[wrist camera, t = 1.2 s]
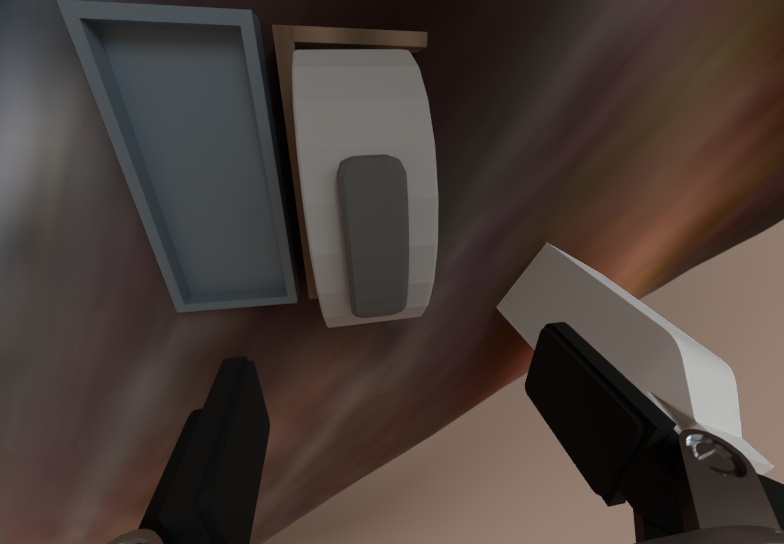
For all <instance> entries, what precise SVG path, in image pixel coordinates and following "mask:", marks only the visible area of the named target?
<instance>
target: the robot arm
mask: <svg viewBox="0 0 784 544" xmlns="http://www.w3.org/2000/svg"><path fill="white" fill-rule="evenodd" d="M525 390H526V393H527V395H528V396H529V398H530V399H531V400H532V402H533V404H534V405H535V406H536V408H537V410H538V411H539V412H540V414H541V415H542V417H543V418H544V420H545V421H546V423H547V424H548V425H549V427H550V429H551V430H552V431H553V433H554V434H555V436H556V437H557V439H558V440H559V442H560V443H561V445H562V446H563V448H564V449H565V451H566V452H567V453H568V455H569V456H570V458H571V459H572V461H573V462H574V464H575V465H576V467H577V468H578V470H579V471H580V472H581V474H582V475H583V477H584V478H585V480H586V481H587V483H588V484H589V486H590V487H591V489H592V490H593V491H594V492H595V493H596V494H598V495H600V496H601V497H602V498H603V500H604V501H605V503H606V504H607V506H613V505H618V504H623V503H625V502H626V500H627V501H628V503H629V504H630V505H631V507H632V508H633V512H634V525H635V536H636V543H635V544H784V484H781V483H779V482H777V481H774V480H772V479H770V478H767V477H765V476H763V475H760V474H758V473H756V471H755V469H754V467H753V466H752V464H751V462H750V461H749V460H748V459H747V458H746V457H745V456H744V455H743V453H742V452H740V451H739V450H738V449H737V448H735V447H734V446H733V445H732V444H730V443H728V442H727V441H725V440H723V439H722V438H720V437H718V436H716V435H714V434H711V433H709V432H706V431H702V430H699V429H686V430H683V431H682V432H681V433H680V434H678V433H677V432H676V431H675V430H674V428H675V426H676V425H677V424H676V423H675V422H674V421H673V420H672V419H671V418H669V417H668V416H667V415H666V414H665V413H664V412H663V411H662V410H661V409H660V408H659V407H658V406H656V405H655V404H654V403H653V402H652V401H651V400H650V399H649V398H648V397H647V396H646V395H644V394H643V393H642V392H641V391H640V390H639V389H638V388H637V387H636V386H635V385H634V384H633V383H631V382H630V381H629V380H628V379H627V378H626V377H625V376H624V375H623V374H622V373H621V372H619V371H618V370H617V369H616V368H615V367H614V366H613V365H612V364H611V363H610V362H609V361H608V360H606V359H605V358H604V357H603V356H602V355H601V354H600V353H599V352H598V351H597V350H596V349H594V348H593V347H592V346H591V345H590V344H589V343H588V342H587V341H586V340H585V339H584V338H583V337H581V336H580V335H579V334H578V333H577V332H576V331H575V330H574V329H573V328H572V327H571V326H569V325H568V324H567V323H566V322H556V323H548V324H546V325H545V326H544V328H542V329H541V331H540V334H539V337H538V340H537V344H536V347H535V351H534V354H533V358H532V361H531V365H530V368H529V371H528V375H527V379H526V382H525ZM269 431H270V422H269V417H268V413H267V409H266V406H265V402H264V398H263V394H262V390H261V386H260V383H259V379H258V375H257V371H256V367H255V364H254V361H248V360H247V358H246V357H236V358H227V359H224V360H223V361H222V363H221V366H220V368H219V371H218V373H217V375H216V378H215V380H214V383H213V385H212V388H211V390H210V392H209V395H208V397H207V400H206V402H205V404H204V407H203V409H197V410H194V411H193V412H192V413H191V414H190V415H189V417H188V419H187V421H186V423H185V426H184V428H183V430H182V432H181V435H180V437H179V439H178V441H177V443H176V446H175V448H174V450H173V452H172V455H171V457H170V459H169V461H168V463H167V466H166V468H165V470H164V472H163V475H162V477H161V479H160V481H159V484H158V486H157V488H156V490H155V492H154V495H153V497H152V499H151V501H150V504H149V506H148V508H147V510H146V513H145V515H144V517H143V519H142V521H141V524H140V526H139V528H138V529H136V530H132V531H129V532H127V533H124V534H122V535H119V536H118V537H116V538H115V539H113V540H112V541H110V542H108V543H107V544H249V542H250V537H251V531H252V526H253V520H254V514H255V509H256V503H257V498H258V492H259V487H260V481H261V476H262V470H263V465H264V459H265V454H266V448H267V443H268V437H269Z"/></svg>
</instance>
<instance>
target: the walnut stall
mask: <svg viewBox="0 0 784 544" xmlns="http://www.w3.org/2000/svg"><path fill="white" fill-rule="evenodd" d="M272 30H273V37H274V44H275V52H276V59H277V67H278V74H279V81H280V89H281V96H282V103H283V111H284V118H285V125H286V133H287V140H288V147H289V155H290V162H291V169H292V177H293V184H294V191H295V199H296V206H297V214H298V221H299V228H300V236H301V243H302V250H303V258H304V265H305V272H306V280H307V287H308V294H309V299H319V298H318V294H317V290H316V284H315V279H314V273H313V268H312V263H311V257H310V251H309V244H308V237H307V230H306V224H305V217H304V210H303V202H302V194H301V185H300V176H299V168H298V159H297V150H296V137H295V125H294V113H293V94H292V63H293V52H294V51H295V50H299V49H402V50H408V51H410V53H417V52H418V51H420V50H422V49H424V48H426V47H427V34H428V32H416V31H395V30H374V29H353V28H333V27H312V26H291V25H272Z"/></svg>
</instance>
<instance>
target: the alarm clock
mask: <svg viewBox="0 0 784 544" xmlns="http://www.w3.org/2000/svg"><path fill="white" fill-rule="evenodd" d="M292 94H293V113H294V125H295V137H296V150H297V159H298V168H299V176H300V185H301V194H302V202H303V210H304V217H305V224H306V230H307V237H308V244H309V251H310V257H311V263H312V268H313V273H314V279H315V284H316V290H317V294H318V298H319V303H320V307H321V311H322V315H323V317H324V320H325V322H326V325H327V327H329V328H331V327H339V326H347V325H355V324H364V323H372V322H380V321H388V320H396V319H404V318H412V317H420V316H421V315H422V314H423V312H424V311H425V309H426V307H427V306H428V304H429V300H430V296H431V292H432V287H433V283H434V277H435V267H436V257H437V247H438V184H437V169H436V154H435V142H434V136H433V129H432V122H431V116H430V109H429V103H428V98H427V94H426V90H425V87H424V83H423V80H422V76H421V72H420V69H419V66H418V65H417V63H416V61H415V60H414V58H413V56H412V54H411V53H410V51H408V50H402V49H319V50H295V51H294V52H293V63H292Z"/></svg>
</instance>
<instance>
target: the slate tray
mask: <svg viewBox="0 0 784 544" xmlns="http://www.w3.org/2000/svg"><path fill="white" fill-rule="evenodd" d="M57 2H58V5H59V7H60V10H61V13H62V15H63V18H64V20H65V23H66V26H67V28H68V31H69V33H70V36H71V39H72V41H73V44H74V46H75V49H76V51H77V54H78V57H79V59H80V62H81V64H82V67H83V70H84V72H85V75H86V77H87V80H88V83H89V85H90V88H91V90H92V93H93V96H94V98H95V101H96V103H97V106H98V109H99V111H100V114H101V116H102V119H103V122H104V124H105V127H106V129H107V132H108V135H109V137H110V140H111V142H112V145H113V148H114V150H115V153H116V155H117V158H118V161H119V163H120V166H121V168H122V171H123V174H124V176H125V179H126V181H127V184H128V187H129V189H130V192H131V194H132V197H133V200H134V202H135V205H136V207H137V210H138V213H139V215H140V218H141V220H142V223H143V226H144V228H145V231H146V233H147V236H148V239H149V241H150V244H151V246H152V249H153V252H154V254H155V257H156V259H157V262H158V264H159V267H160V270H161V272H162V275H163V277H164V280H165V283H166V285H167V288H168V290H169V293H170V296H171V298H172V301H173V303H174V306H175V309H176V311H177V313H180V312H192V311H204V310H217V309H229V308H241V307H253V306H265V305H277V304H289V303H298V297H299V291H300V288H299V281H298V275H297V268H296V261H295V255H294V248H293V241H292V235H291V228H290V221H289V215H288V208H287V202H286V195H285V188H284V182H283V175H282V168H281V162H280V155H279V148H278V142H277V135H276V128H275V122H274V115H273V108H272V102H271V95H270V89H269V82H268V75H267V69H266V62H265V55H264V49H263V42H262V35H261V29H260V22H259V18H258V17H257V16H256V15H255V14H254V12H253V11H252V10H243V9H225V8H207V7H188V6H170V5H151V4H133V3H115V2H96V1H78V0H57Z"/></svg>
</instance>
